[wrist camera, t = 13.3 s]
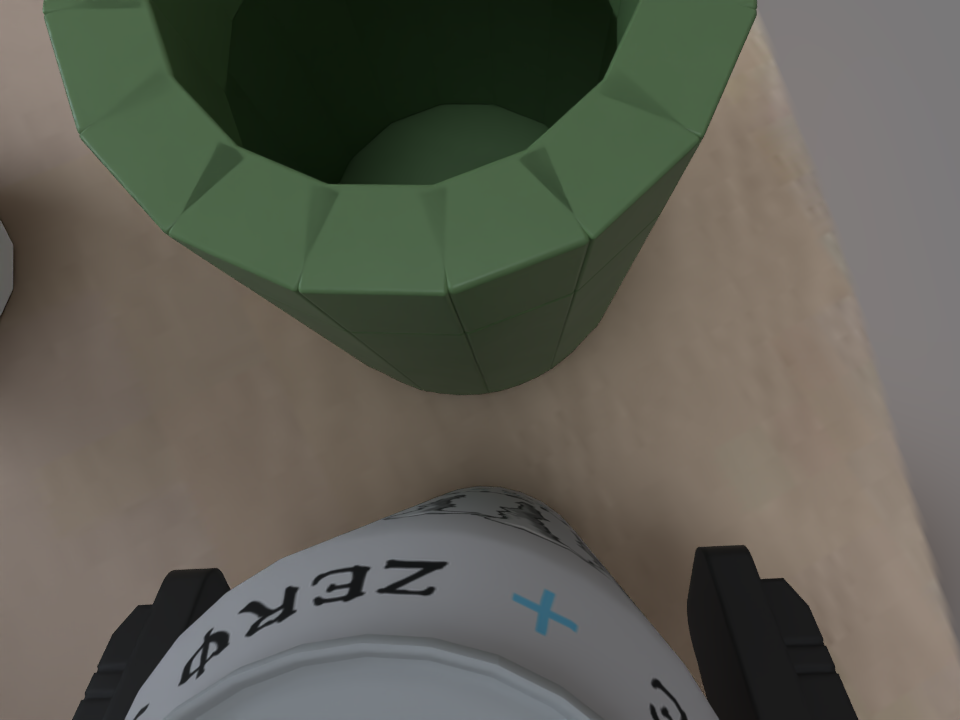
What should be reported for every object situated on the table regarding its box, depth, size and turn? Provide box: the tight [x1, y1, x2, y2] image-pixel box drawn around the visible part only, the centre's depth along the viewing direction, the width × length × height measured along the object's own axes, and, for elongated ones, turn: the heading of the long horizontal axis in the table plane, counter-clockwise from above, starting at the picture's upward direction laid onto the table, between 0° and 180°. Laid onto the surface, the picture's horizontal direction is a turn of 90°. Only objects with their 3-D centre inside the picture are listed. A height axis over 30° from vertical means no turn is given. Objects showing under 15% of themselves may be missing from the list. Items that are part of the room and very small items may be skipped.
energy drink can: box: [125, 486, 719, 720], centre depth 12 cm, size 6×6×15 cm
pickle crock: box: [43, 0, 757, 395], centre depth 15 cm, size 9×9×12 cm
